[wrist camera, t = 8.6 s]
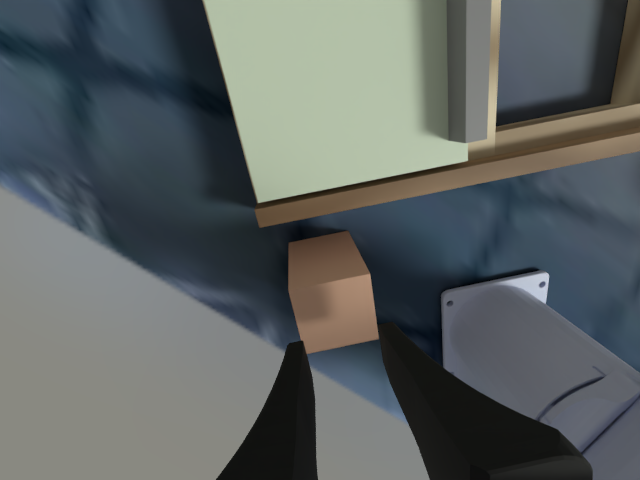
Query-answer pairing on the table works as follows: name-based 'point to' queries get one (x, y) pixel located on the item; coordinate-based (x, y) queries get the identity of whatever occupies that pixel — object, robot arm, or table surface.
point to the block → (331, 292)
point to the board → (497, 141)
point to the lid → (352, 87)
